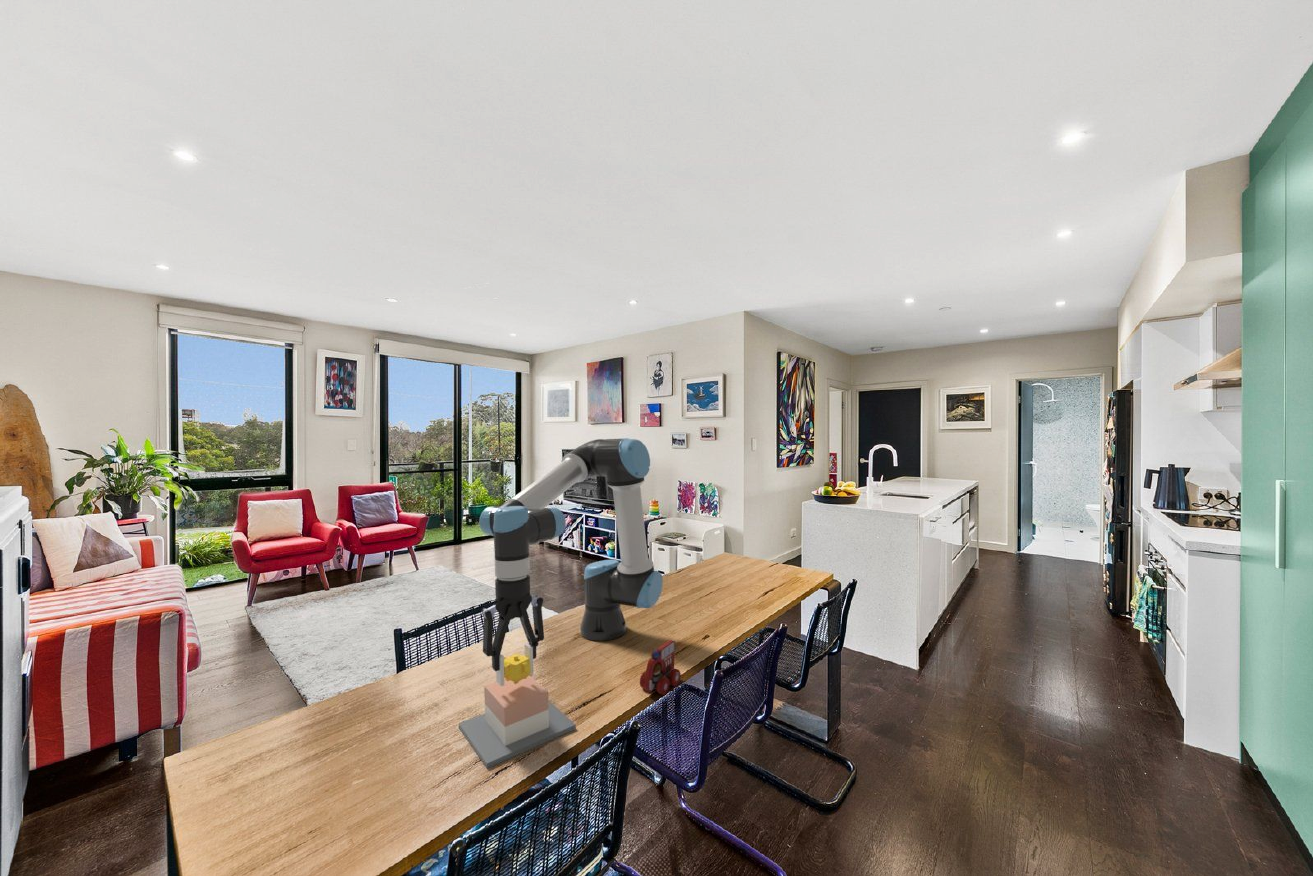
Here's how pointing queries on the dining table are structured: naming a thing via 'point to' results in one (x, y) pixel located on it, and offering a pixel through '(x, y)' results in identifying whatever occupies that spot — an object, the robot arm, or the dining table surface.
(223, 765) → the dining table surface
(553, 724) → the tower base
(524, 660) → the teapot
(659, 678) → the toy fire truck
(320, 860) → the dining table surface
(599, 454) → the robot arm
